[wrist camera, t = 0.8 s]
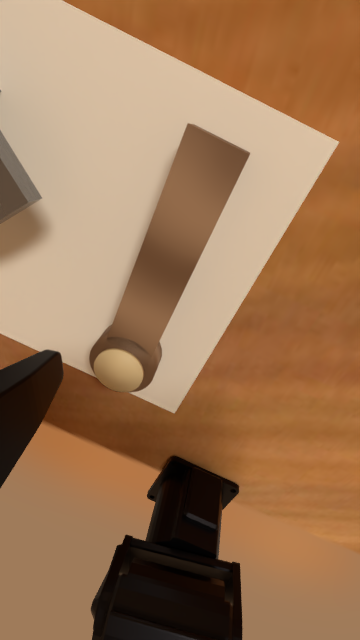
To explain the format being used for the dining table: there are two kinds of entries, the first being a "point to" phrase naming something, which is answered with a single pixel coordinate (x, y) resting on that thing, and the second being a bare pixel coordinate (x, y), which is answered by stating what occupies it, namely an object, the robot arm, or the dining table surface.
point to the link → (173, 245)
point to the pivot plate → (128, 190)
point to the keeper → (14, 183)
